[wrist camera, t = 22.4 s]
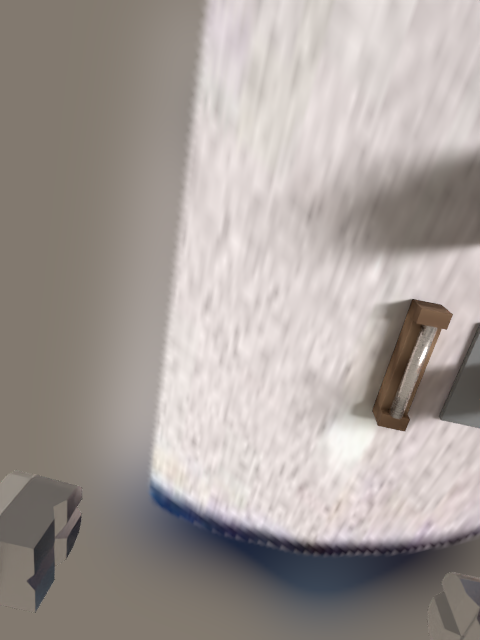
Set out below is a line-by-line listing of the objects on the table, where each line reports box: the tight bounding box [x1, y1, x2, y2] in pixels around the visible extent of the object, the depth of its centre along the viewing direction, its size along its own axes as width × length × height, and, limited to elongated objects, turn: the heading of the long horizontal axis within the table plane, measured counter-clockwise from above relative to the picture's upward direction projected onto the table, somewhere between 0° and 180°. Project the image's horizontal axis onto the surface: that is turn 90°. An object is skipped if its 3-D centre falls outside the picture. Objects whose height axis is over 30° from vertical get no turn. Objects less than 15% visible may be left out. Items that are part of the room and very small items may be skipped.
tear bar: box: [372, 299, 453, 431], centre depth 41 cm, size 14×3×3 cm, turn 170°
